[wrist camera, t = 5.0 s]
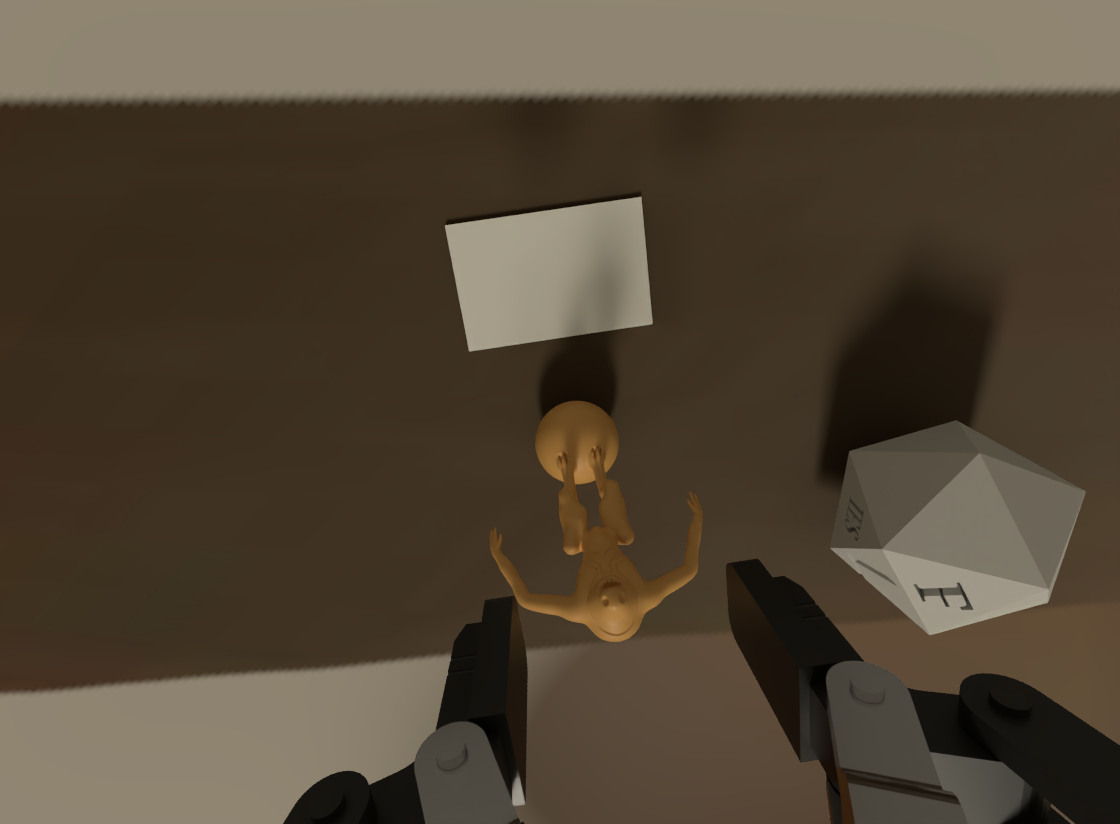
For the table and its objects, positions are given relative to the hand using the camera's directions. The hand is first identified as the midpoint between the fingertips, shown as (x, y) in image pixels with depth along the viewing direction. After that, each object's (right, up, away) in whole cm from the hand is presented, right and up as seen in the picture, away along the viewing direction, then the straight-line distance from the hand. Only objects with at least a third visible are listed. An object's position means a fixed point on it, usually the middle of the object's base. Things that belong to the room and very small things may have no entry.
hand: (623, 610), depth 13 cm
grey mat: (-2, +11, +11) cm, 16 cm away
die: (+16, +1, +16) cm, 22 cm away
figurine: (-1, +3, +14) cm, 14 cm away
